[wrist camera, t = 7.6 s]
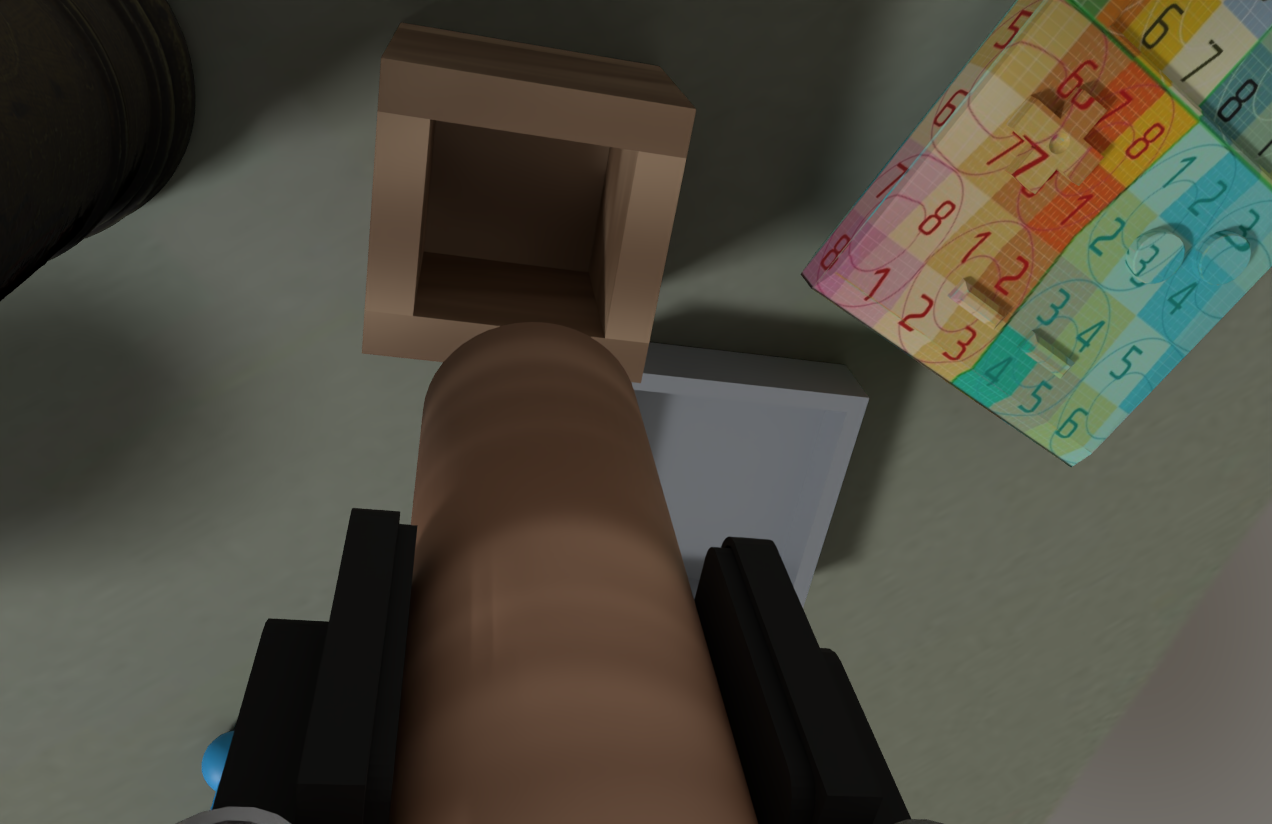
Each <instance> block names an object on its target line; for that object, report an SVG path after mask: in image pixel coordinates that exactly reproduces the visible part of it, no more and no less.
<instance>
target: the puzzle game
mask: <svg viewBox="0 0 1272 824" xmlns="http://www.w3.org/2000/svg"><path fill="white" fill-rule="evenodd" d="M1271 266H1272V0H1016V1H1015V2H1014V4H1013V5H1012V6H1011V8H1010V9H1009V10H1008V11H1007V13H1006V14H1005V15H1004V16H1003V18H1002V19H1001V20H1000V21H999V23H998V24H997V25H996V26H995V28H994V29H993V30H992V31H991V33H990V34H989V35H988V36H987V38H986V39H985V40H984V42H983V43H982V44H981V45H980V47H979V48H978V49H977V50H976V52H975V53H974V54H973V55H972V57H971V58H970V59H969V60H968V62H967V63H966V64H965V65H964V67H963V68H962V69H961V70H960V72H959V73H958V74H957V76H956V77H955V78H954V79H953V81H952V82H951V83H950V84H949V86H948V87H947V88H946V89H945V91H944V92H943V93H942V94H941V96H940V97H939V98H938V99H937V101H936V102H935V103H934V104H933V106H932V107H931V108H930V110H929V111H928V112H927V113H926V115H925V116H924V117H923V118H922V120H921V121H920V122H919V123H918V125H917V126H916V127H915V128H914V130H913V131H912V132H911V133H910V135H909V136H908V137H907V138H906V140H905V141H904V142H903V144H902V145H901V146H900V147H899V149H898V150H897V151H896V152H895V154H894V155H893V156H892V157H891V159H890V160H889V161H888V162H887V164H886V165H885V166H884V167H883V169H882V170H881V171H880V172H879V174H878V175H877V176H876V177H875V179H874V180H873V181H872V183H871V184H870V185H869V186H868V188H867V189H866V190H865V191H864V193H863V194H862V195H861V196H860V198H859V199H858V200H857V201H856V203H855V204H854V205H853V206H852V208H851V209H850V210H849V211H848V213H847V214H846V215H845V217H844V218H843V219H842V220H841V222H840V223H839V224H838V225H837V227H836V228H835V229H834V230H833V232H832V233H831V234H830V235H829V237H828V238H827V239H826V240H825V242H824V243H823V244H822V245H821V247H820V248H819V249H818V251H817V252H816V253H815V254H814V256H813V257H812V259H811V260H810V262H809V263H808V265H807V266H806V267H805V269H804V270H803V272H802V273H801V275H802V277H803V278H804V279H805V281H806V282H807V283H808V285H809V286H810V287H811V289H813V290H814V291H816V292H817V293H819V294H820V295H821V296H823V297H824V298H826V299H827V300H829V301H830V302H832V303H833V304H834V305H836V306H837V307H839V308H840V309H842V310H843V311H845V312H846V313H848V314H849V315H850V316H852V317H853V318H855V319H856V320H858V321H859V322H861V323H862V324H864V325H865V326H866V327H868V328H869V329H871V330H872V331H874V332H875V333H877V334H878V335H880V336H881V337H882V338H884V339H885V340H887V341H888V342H890V343H891V344H893V345H894V346H895V347H897V348H898V349H900V350H901V351H903V352H904V353H906V354H907V355H909V356H910V357H911V358H913V359H914V360H916V361H917V362H919V363H920V364H922V365H923V366H925V367H926V368H927V369H929V370H930V371H932V372H933V373H935V374H936V375H938V376H939V377H941V378H942V379H943V380H945V381H946V382H948V383H949V384H951V385H952V386H954V387H955V388H956V389H958V390H959V391H961V392H962V393H964V394H965V395H967V396H968V397H970V398H971V399H972V400H974V401H975V402H977V403H978V404H980V405H981V406H983V407H984V408H986V409H987V410H988V411H990V412H991V413H993V414H994V415H996V416H997V417H999V418H1000V419H1002V420H1003V421H1004V422H1006V423H1007V424H1009V425H1010V426H1012V427H1013V428H1015V429H1016V430H1017V431H1019V432H1020V433H1022V434H1023V435H1025V436H1026V437H1028V438H1029V439H1031V440H1032V441H1033V442H1035V443H1036V444H1038V445H1039V446H1041V447H1042V448H1044V449H1045V450H1047V451H1048V452H1049V453H1051V454H1052V455H1054V456H1055V457H1057V458H1058V459H1060V460H1061V461H1063V462H1064V463H1065V464H1067V465H1068V466H1070V467H1072V466H1074V465H1075V464H1077V463H1078V462H1080V461H1081V460H1083V459H1084V458H1086V457H1087V456H1089V455H1090V454H1092V453H1093V452H1094V451H1095V450H1096V449H1097V448H1098V447H1099V445H1100V444H1101V443H1102V442H1103V441H1104V440H1105V439H1106V438H1107V437H1108V436H1109V435H1110V434H1111V433H1112V432H1113V431H1114V430H1115V429H1116V428H1117V427H1118V426H1119V425H1120V424H1121V423H1122V422H1123V421H1124V419H1125V418H1126V417H1127V416H1128V415H1129V414H1130V413H1131V412H1132V411H1133V410H1134V409H1135V408H1136V407H1137V406H1138V405H1139V404H1140V403H1141V402H1142V401H1143V400H1144V399H1145V398H1146V397H1147V396H1148V394H1149V393H1150V392H1151V391H1152V390H1153V389H1154V388H1155V387H1156V386H1157V385H1158V384H1159V383H1160V382H1161V381H1162V380H1163V379H1164V378H1165V377H1166V376H1167V375H1168V374H1169V373H1170V372H1171V371H1172V370H1173V368H1174V367H1175V366H1176V365H1177V364H1178V363H1179V362H1180V361H1181V360H1182V359H1183V358H1184V357H1185V356H1186V355H1187V354H1188V353H1189V352H1190V351H1191V350H1192V349H1193V348H1194V347H1195V346H1196V345H1197V343H1198V342H1199V341H1200V340H1201V339H1202V338H1203V337H1204V336H1205V335H1206V334H1207V333H1208V332H1209V331H1210V330H1211V329H1212V328H1213V327H1214V326H1215V325H1216V324H1217V323H1218V322H1219V321H1220V320H1221V319H1222V317H1223V316H1224V315H1225V314H1226V313H1227V312H1228V311H1229V310H1230V309H1231V308H1232V307H1233V306H1234V305H1235V304H1236V303H1237V302H1238V301H1239V300H1240V299H1241V298H1242V297H1243V296H1244V295H1245V294H1246V293H1247V291H1248V290H1249V289H1250V288H1251V287H1252V286H1253V285H1254V284H1255V283H1256V282H1257V281H1258V280H1259V279H1260V278H1261V277H1262V276H1263V275H1264V274H1265V273H1266V272H1267V271H1268V270H1269V269H1270V268H1271Z"/></svg>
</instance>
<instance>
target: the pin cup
mask: <svg viewBox="0 0 1272 824" xmlns="http://www.w3.org/2000/svg"><path fill="white" fill-rule="evenodd" d="M695 113H696V108H695V107H694V106H693V105H692V104H691V102H690V101H689V100H688V99H687V98H686V97H685V95H684V94H683V93H682V92H681V91H680V89H679V88H678V87H677V86H676V85H675V84H674V82H673V81H672V80H671V79H670V78H669V77H668V75H667V74H666V73H665V72H664V71H663V70H662V68H661V67H660V66H655V65H649V64H643V63H637V62H631V61H625V60H620V59H614V58H608V57H602V56H596V55H590V54H584V53H578V52H573V51H567V50H561V49H555V48H549V47H543V46H537V45H531V44H525V43H520V42H514V41H508V40H502V39H496V38H490V37H484V36H478V35H472V34H467V33H461V32H455V31H449V30H443V29H437V28H431V27H425V26H419V25H414V24H408V23H402V22H401V23H400V25H399V27H398V28H397V30H396V32H395V34H394V36H393V37H392V39H391V41H390V43H389V45H388V46H387V48H386V50H385V52H384V54H383V55H382V57H381V67H380V82H379V97H378V113H377V128H376V144H375V159H374V175H373V190H372V206H371V221H370V237H369V252H368V268H367V283H366V298H365V314H364V329H363V345H362V353H364V354H373V355H382V356H392V357H401V358H410V359H420V360H429V361H438V362H444V361H445V360H446V359H447V358H448V357H449V356H450V355H451V354H452V353H453V352H454V351H455V350H456V349H457V348H459V347H460V346H461V345H462V344H464V343H465V342H467V341H468V340H470V339H472V338H473V337H475V336H477V335H479V334H481V333H483V332H486V331H488V330H490V329H494V328H497V327H500V326H503V325H509V324H514V323H523V322H543V323H551V324H557V325H562V326H565V327H568V328H571V329H575V330H577V331H579V332H581V333H584V334H586V335H588V336H589V337H591V338H593V339H594V340H596V341H598V342H599V343H600V344H602V345H603V346H604V347H605V348H606V349H608V350H609V351H610V352H611V353H612V354H613V355H614V356H615V357H616V359H617V360H618V361H619V362H620V364H621V365H622V366H623V368H624V369H625V371H626V373H627V375H628V377H629V379H630V381H631V382H634V383H641V381H642V376H643V371H644V366H645V361H646V356H647V351H648V346H649V341H650V336H651V331H652V326H653V321H654V316H655V311H656V306H657V301H658V297H659V292H660V287H661V282H662V277H663V272H664V267H665V262H666V257H667V252H668V247H669V242H670V237H671V232H672V227H673V222H674V217H675V212H676V207H677V202H678V197H679V193H680V188H681V183H682V178H683V173H684V168H685V163H686V158H687V153H688V148H689V143H690V138H691V133H692V128H693V123H694V118H695Z"/></svg>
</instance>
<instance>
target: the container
mask: <svg viewBox="0 0 1272 824" xmlns="http://www.w3.org/2000/svg"><path fill="white" fill-rule="evenodd" d="M194 115H195V85H194V76H193V70H192V65H191V60H190V56H189V52H188V48H187V45H186V42H185V39H184V36H183V34H182V31H181V29H180V26H179V24H178V22H177V20H176V18H175V16H174V14H173V12H172V10H171V8H170V6H169V5H168V3H167V1H166V0H0V301H1V300H2V299H4V298H5V297H6V296H7V295H8V294H10V293H11V292H12V291H13V290H14V289H16V288H17V287H18V286H19V285H20V284H22V283H23V282H24V281H25V280H26V279H28V278H29V277H30V276H31V275H32V274H33V273H34V272H35V271H37V270H38V269H39V268H40V267H42V266H43V265H45V264H46V262H47V261H49V260H51V259H53V258H55V257H57V256H59V255H61V254H63V253H65V252H66V251H68V250H69V249H71V248H72V247H74V246H75V245H77V244H78V243H79V242H80V241H82V240H83V239H84V238H87V237H90V236H92V235H95V234H97V233H99V232H101V231H103V230H105V229H107V228H109V227H111V226H113V225H114V224H116V223H117V222H119V221H120V220H121V219H123V218H124V217H126V216H127V215H129V214H131V213H133V212H134V211H136V210H137V209H139V208H140V207H142V206H143V205H144V204H146V203H147V202H148V201H149V200H151V199H152V198H153V197H154V196H155V195H156V194H157V193H158V192H159V191H160V190H161V189H162V188H163V187H164V186H165V185H166V183H167V182H168V181H169V180H170V178H171V177H172V175H173V174H174V172H175V170H176V169H177V167H178V165H179V163H180V161H181V159H182V157H183V155H184V153H185V151H186V148H187V145H188V143H189V140H190V136H191V132H192V127H193V123H194Z"/></svg>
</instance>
